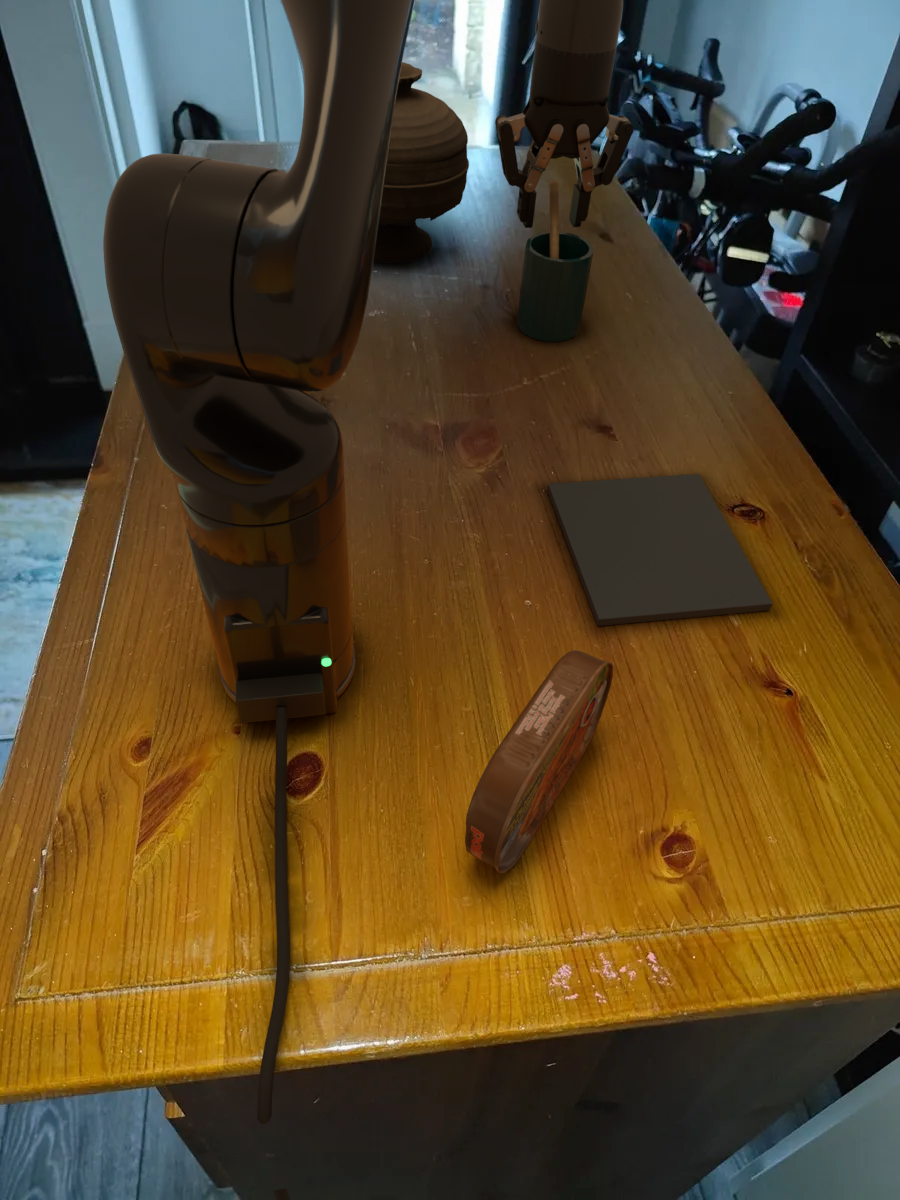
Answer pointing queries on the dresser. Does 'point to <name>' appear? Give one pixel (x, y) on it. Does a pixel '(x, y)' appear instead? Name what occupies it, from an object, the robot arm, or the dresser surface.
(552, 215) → the stirring stick
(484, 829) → the tin
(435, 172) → the pot
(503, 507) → the dresser surface
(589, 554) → the mat
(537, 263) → the cup
